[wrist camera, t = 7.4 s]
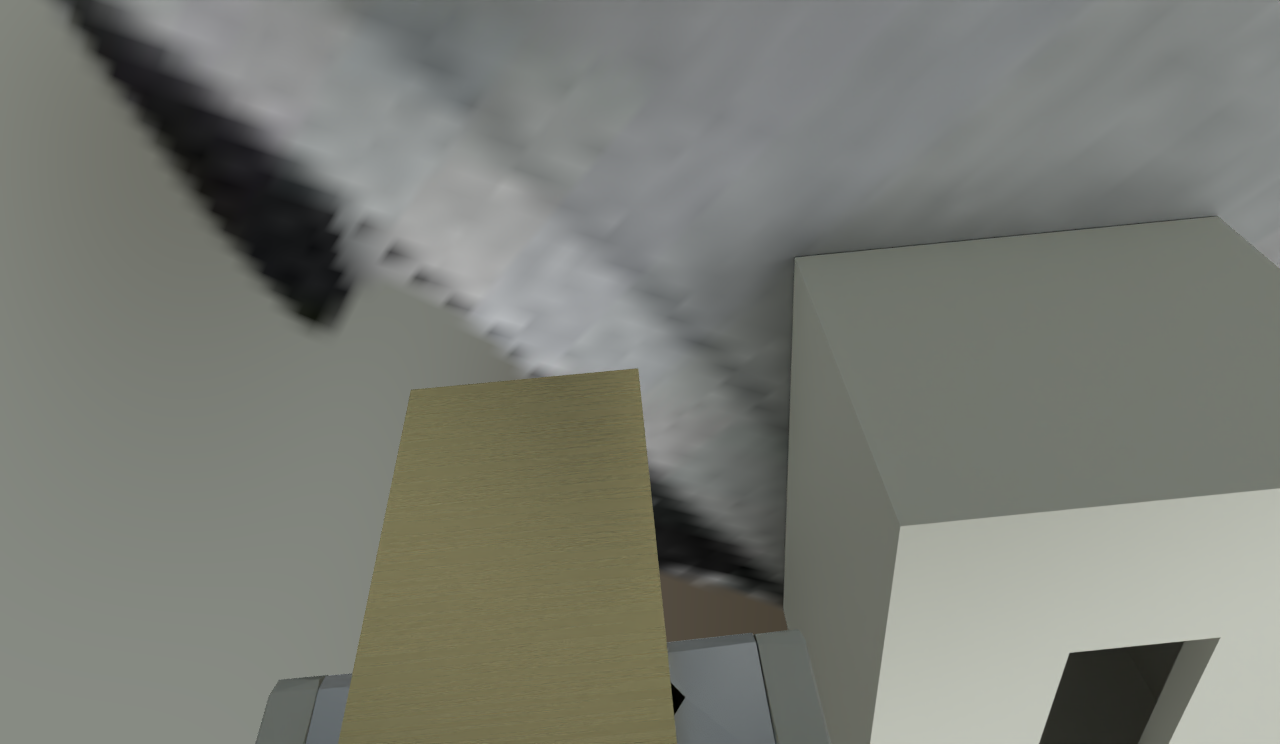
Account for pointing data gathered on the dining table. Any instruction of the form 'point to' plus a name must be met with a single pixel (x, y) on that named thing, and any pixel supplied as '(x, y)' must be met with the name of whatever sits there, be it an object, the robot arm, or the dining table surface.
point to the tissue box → (1039, 488)
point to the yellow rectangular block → (517, 573)
